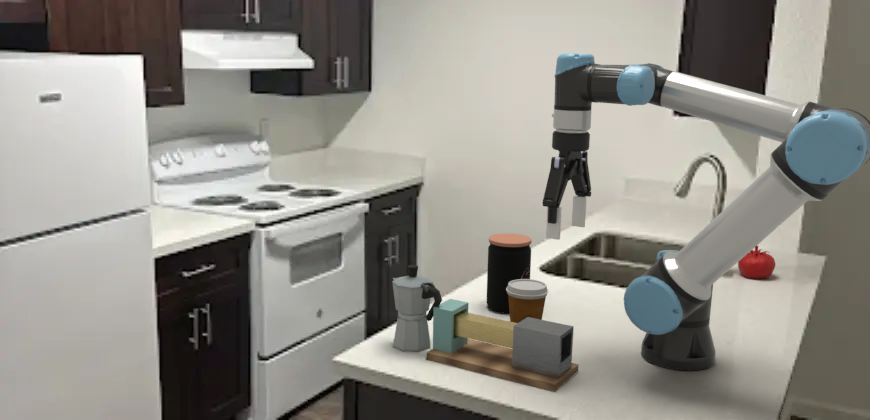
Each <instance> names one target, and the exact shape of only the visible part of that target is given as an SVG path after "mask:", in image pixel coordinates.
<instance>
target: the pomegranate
mask: <svg viewBox="0 0 870 420" xmlns="http://www.w3.org/2000/svg"><path fill="white" fill-rule="evenodd" d="M737 268H738V271H739V272H740V274H741V275H742V276H743V277H745V278H748V279H756V280H757V279H768V278H769V277H771V276H772V274H773V272H774V270H775V268H776V261H775V258H774V256H772V255H770V252H769V251H767V250H765V251H763V249H759V245H757V246H756V247H754V249H752V250H751V251H750V252H749V253H748V254H746V255H745V256H744V257H743V258H742V259H741V260H740V261H739V262H737Z"/></svg>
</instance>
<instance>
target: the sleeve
mask: <svg viewBox="0 0 870 420" xmlns="http://www.w3.org/2000/svg"><path fill="white" fill-rule="evenodd" d="M573 339H574V326H573V325H570V324H569V325H568V324H564V323H559V322H555V321H554V322H553V321H550V320H546V319H545V320H544V319H542V320H540V319H535V318H531V317H527V318H525V319H524V320H522V321H521V322H519V323H517V324H516V325H514V327H513V352H512V368H515V369H519V370H523V371H527V372H531V373H535V374H539V375H544V376H548V377H552V378H556V379H559V378H560V377H561V376H562V375H564V374H565V373H566V372H567V371H568V370H569V369H571V364H572V363H573V362H572V358H573V345H574V344H573V342H574V340H573Z"/></svg>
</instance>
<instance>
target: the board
mask: <svg viewBox="0 0 870 420" xmlns="http://www.w3.org/2000/svg"><path fill="white" fill-rule="evenodd" d="M512 352H513V349H512V348H508V347H503V346H499V345H495V344H490V343H486V342H482V341H477V340H473V339H469V338H468V341H467V344H465V345H464V346H462V347H461V348H459V349H457V350H456V351H454V352H452V353H448V352H444V351H439V350H435V349H433V348H432V349H429V350H428V351H427V352H426V356H425V357H426V358H425V359H426V360H428V361H432V362H434V363H435V362H436V363H440V364H444V365H448V366H452V367H454V368H455V367H456V368H460V369H463V370H467V371H472V372H476V373H479V374H483V375H487V376H491V377H495V378H498V379H503V380H507V381H510V382H515V383H518V384H522V385H527V386H530V387H535V388H539V389H542V390H546V391H550V392H554V393H555V392H556V391H557V390H558V389H560V388H561V387H562V386H563V385H564V384H566V382H568V381H569V380H570V379H571V378H572V377H574V375H576V373H577V372H579V363H576V362H572V364H571V369H569V370H568V371H567V372H566V373H565V374H564V375H562V376H561V377H560V378H559V379H556V378H552V377H548V376H544V375H539V374H535V373H531V372H527V371H523V370H519V369H515V368H512Z"/></svg>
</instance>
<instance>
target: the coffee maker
mask: <svg viewBox="0 0 870 420" xmlns="http://www.w3.org/2000/svg"><path fill="white" fill-rule="evenodd" d="M406 267H407V271H408V272H407V273H408V275H405V276H399V277H392V279H393V280H392V290H393V298H394V304H395V305H394V307H395V310H396V311H397V320H396V325H395V333H394V339H393V343H392V347H393V348H394V349H397V350H399V351H400V352H405V353H406V352H407V353H408V352H409V353H415V352H416V353H419V352H423V351H425V350H428V349H429V350H430V348H431V337H430V330H429V322H430V321H432V320H433V308H434V307H437V306H439V305H440V304H441V303H442V301H443V297H442V295H441V291H440V290H439V289H438V288H436V285H435V284H434V282H433V281H432V280H431V279H429V278H428V277H424V276H418V275H417V274H418V270H419V266H418V265H416V264H409V265H407V266H406ZM432 299H434V302H433V304H432V305H431V300H432ZM430 305H431V306H430Z"/></svg>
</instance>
